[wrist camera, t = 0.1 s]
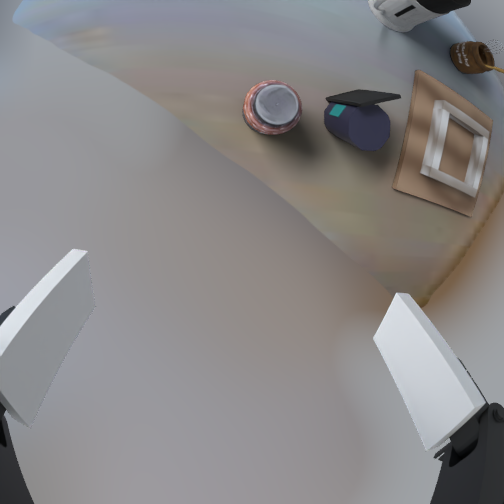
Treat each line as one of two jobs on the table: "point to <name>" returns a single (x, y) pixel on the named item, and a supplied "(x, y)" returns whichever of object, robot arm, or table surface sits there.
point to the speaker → (359, 118)
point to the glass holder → (411, 11)
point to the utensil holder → (473, 57)
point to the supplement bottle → (272, 107)
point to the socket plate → (443, 147)
